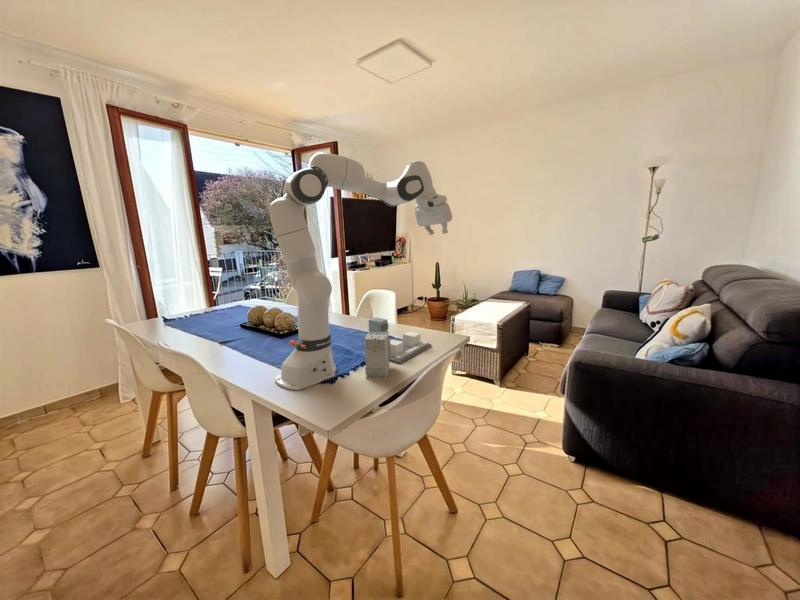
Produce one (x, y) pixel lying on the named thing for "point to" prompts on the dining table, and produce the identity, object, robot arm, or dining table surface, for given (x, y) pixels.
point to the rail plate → (406, 347)
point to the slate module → (378, 325)
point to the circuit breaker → (377, 355)
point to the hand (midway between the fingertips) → (438, 234)
